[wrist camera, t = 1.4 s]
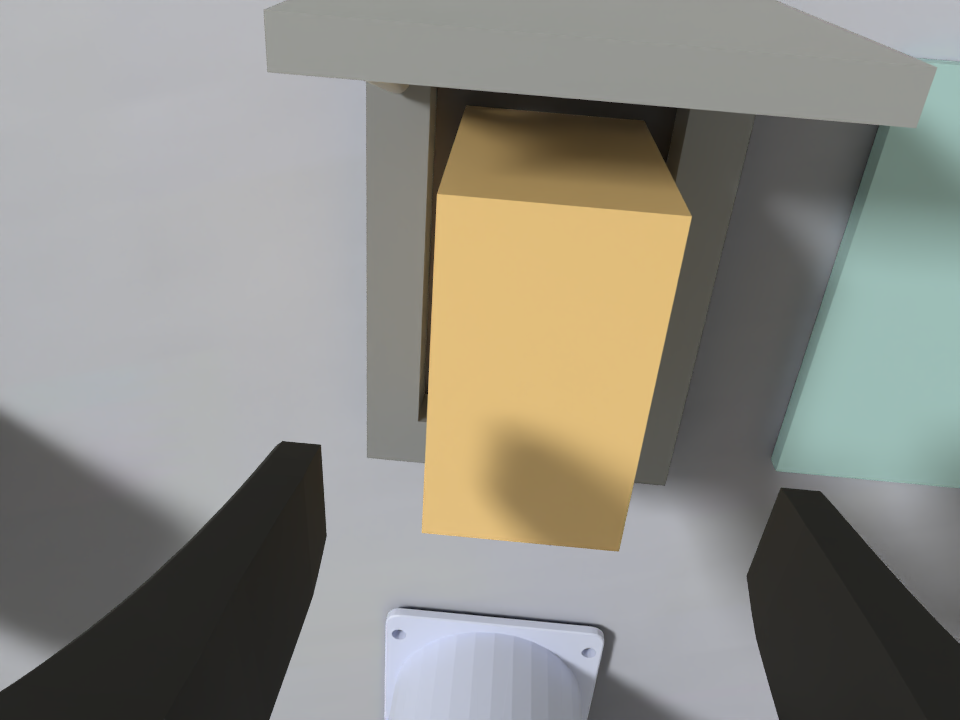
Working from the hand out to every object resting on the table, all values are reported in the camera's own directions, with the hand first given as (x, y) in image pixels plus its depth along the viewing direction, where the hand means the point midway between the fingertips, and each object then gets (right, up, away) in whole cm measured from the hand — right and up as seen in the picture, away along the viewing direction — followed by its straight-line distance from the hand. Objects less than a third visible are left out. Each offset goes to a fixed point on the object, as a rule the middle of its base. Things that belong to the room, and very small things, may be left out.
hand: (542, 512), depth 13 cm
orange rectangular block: (+1, +5, +9) cm, 11 cm away
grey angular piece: (+1, +5, +9) cm, 11 cm away
